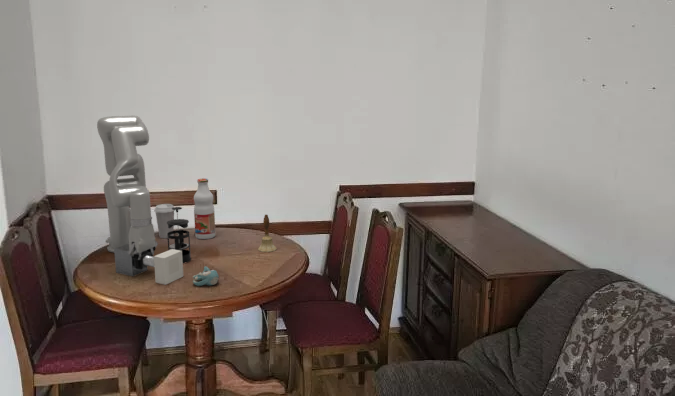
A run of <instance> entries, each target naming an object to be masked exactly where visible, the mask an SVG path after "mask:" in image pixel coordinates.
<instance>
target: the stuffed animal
mask: <svg viewBox="0 0 675 396" xmlns="http://www.w3.org/2000/svg"><path fill="white" fill-rule="evenodd" d="M192 279H193V280H192V283H193V285H195V286H197V287H202V286H214V285H216V284H217V283H218V281H219V279H220V278H219V274H218V271H217V270H214V269H210V268H209V267H208V266H207V265H206V266H203V271H202V272H201V271H200V272H199V273H197V274H195V275H193V276H192Z"/></svg>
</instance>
